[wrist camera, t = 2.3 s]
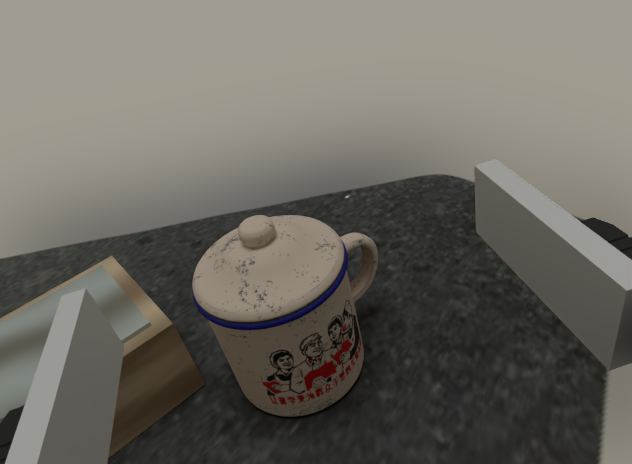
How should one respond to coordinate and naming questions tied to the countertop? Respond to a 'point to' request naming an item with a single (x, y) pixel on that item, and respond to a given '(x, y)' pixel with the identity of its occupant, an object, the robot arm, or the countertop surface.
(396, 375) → the countertop surface
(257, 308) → the teacup with lid
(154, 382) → the oak riser
